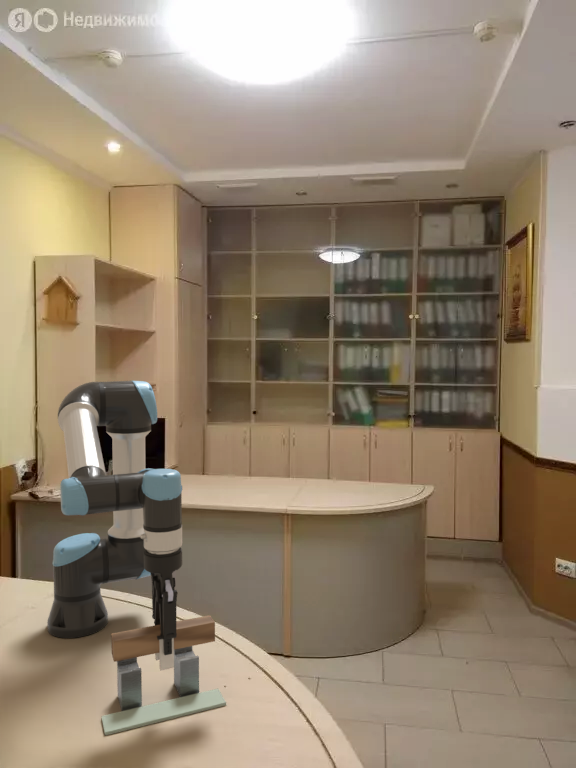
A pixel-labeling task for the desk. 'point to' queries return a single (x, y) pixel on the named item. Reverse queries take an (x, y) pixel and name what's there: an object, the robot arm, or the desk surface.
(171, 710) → the mat
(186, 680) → the cradle posts
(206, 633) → the rail
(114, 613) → the desk surface
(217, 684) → the desk surface
